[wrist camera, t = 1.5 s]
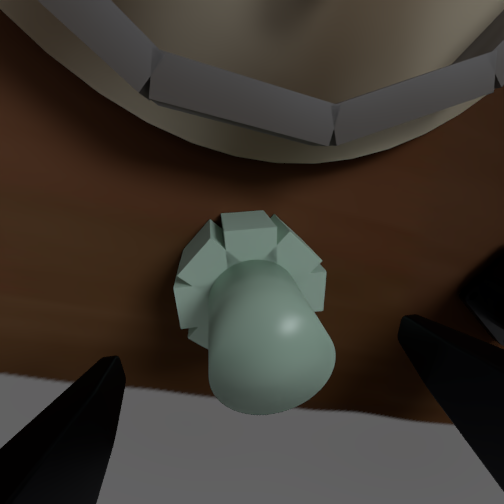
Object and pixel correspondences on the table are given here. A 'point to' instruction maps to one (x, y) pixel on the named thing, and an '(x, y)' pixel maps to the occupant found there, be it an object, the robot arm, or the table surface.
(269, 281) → the pale green domed piece
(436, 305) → the table surface
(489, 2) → the carrier plate
